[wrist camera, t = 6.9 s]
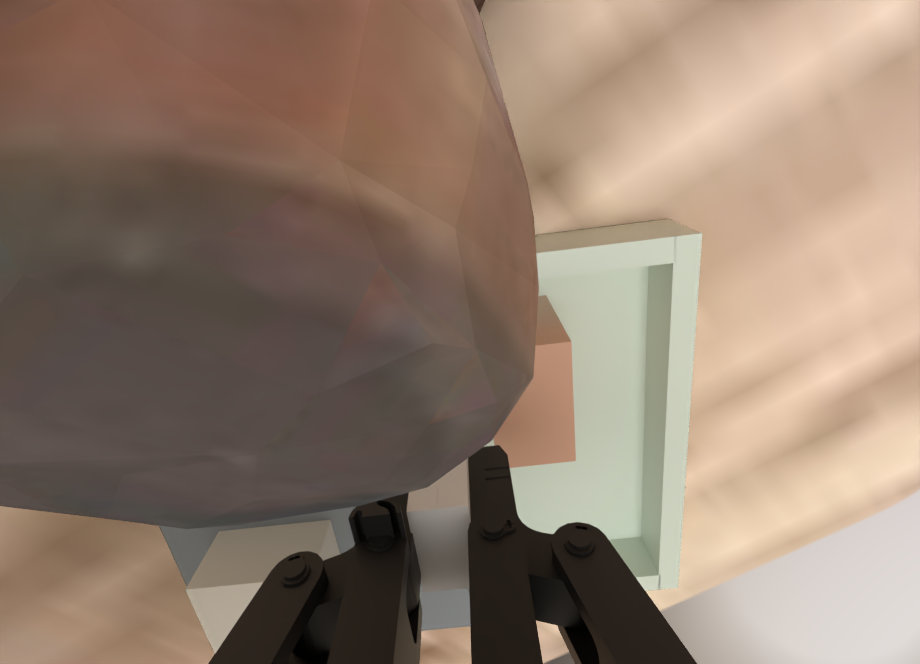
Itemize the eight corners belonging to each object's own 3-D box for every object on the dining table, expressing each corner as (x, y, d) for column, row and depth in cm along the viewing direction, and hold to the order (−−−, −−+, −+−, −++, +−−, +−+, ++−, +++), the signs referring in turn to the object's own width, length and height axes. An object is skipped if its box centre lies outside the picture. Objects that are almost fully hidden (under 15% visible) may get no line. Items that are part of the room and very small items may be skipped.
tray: (479, 559, 28) (482, 606, 25) (435, 247, 21) (433, 265, 18) (655, 541, 28) (677, 587, 25) (669, 218, 21) (702, 233, 18)
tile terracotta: (497, 469, 19) (575, 460, 19) (484, 351, 17) (571, 341, 17) (488, 402, 24) (551, 395, 23) (477, 303, 22) (545, 295, 22)
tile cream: (250, 610, 24) (224, 674, 21) (219, 531, 22) (185, 589, 19) (353, 600, 24) (340, 663, 21) (330, 519, 22) (312, 577, 19)
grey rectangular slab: (246, 582, 29) (216, 650, 25) (129, 284, 22) (63, 317, 18) (471, 560, 28) (473, 625, 24) (424, 248, 21) (418, 274, 18)
